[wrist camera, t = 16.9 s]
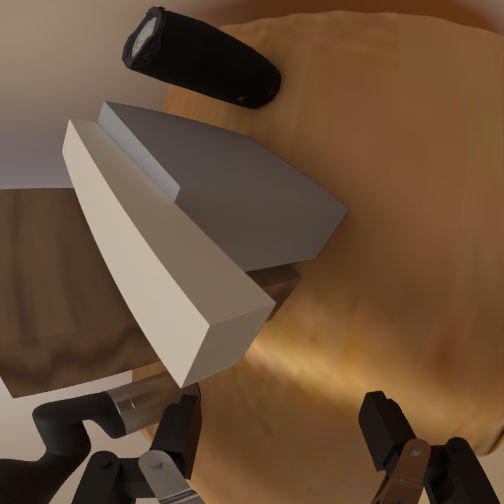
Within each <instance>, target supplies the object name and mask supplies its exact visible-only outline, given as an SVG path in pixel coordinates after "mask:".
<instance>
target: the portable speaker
mask: <svg viewBox="0 0 504 504" xmlns="http://www.w3.org/2000/svg"><path fill="white" fill-rule="evenodd" d="M163 9H165V8H163V7H158V8H157V7H152V8H151V9H149V10H148V12H147V13H146V17H145V18H144V19H143V21H142V22H141V23H140V25H139V26H138V27H137V29H136V30H135V31H134V32H133V33H132V34H131V35H130V36H129V37H128V40H127V42H126V44H125V46H124V50H123V55H122V60H123V62H124V64H125V65H126V67H127V68H129V69H131V70H133V71H136V72H139V73H142V74H145V75H148V76H150V77H153V78H155V79H158V80H161V81H163V82H167V83H170V84H173V85H176V86H180V87H183V88H186V89H189V90H192V91H195V92H198V93H201V94H204V95H207V96H210V97H212V98H215V99H219V100H222V101H225V102H229V103H232V104H235V105H238V106H242V107H247V108H250V109H251V108H252V107H254V106H257V105H259V104H261V103H262V102H264V101H266V100H268V99H272V98H273V97H274V96H275V94H276V93H277V91H278V90H279V88H280V79H281V76H280V74H279V73H278V71H277V70H276V68H275V66H274V65H272V64H271V63H270V62H269V61H268V60H267V59H266V58H264V57H263V56H262V55H261V54H259V53H258V52H257V51H256V50H254V49H253V48H251V47H250V46H248V45H246V44H244V43H243V42H241V41H239V40H237V39H236V38H234V37H232V36H230V35H228V34H226V33H225V32H223V31H221V30H219V29H217V28H215V27H213V26H211V25H209V24H207V23H205V22H203V21H200V20H197V19H194V18H191V17H188V16H184V15H181V14H178V13H174V12H171V11H165V10H163Z"/></svg>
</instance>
